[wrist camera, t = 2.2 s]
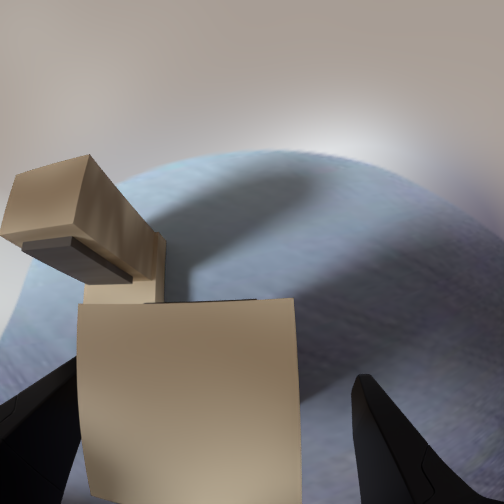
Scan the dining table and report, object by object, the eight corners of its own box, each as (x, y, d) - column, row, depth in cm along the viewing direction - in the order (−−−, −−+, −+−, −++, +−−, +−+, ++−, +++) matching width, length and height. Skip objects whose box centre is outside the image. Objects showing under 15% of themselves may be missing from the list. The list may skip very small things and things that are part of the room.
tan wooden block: (282, 413, 15) (301, 517, 4) (203, 414, 16) (91, 495, 4) (278, 329, 17) (291, 276, 6) (199, 332, 17) (79, 285, 6)
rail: (173, 487, 14) (102, 564, 5) (103, 474, 14) (10, 520, 5) (166, 241, 19) (94, 153, 10) (100, 246, 19) (13, 176, 10)
